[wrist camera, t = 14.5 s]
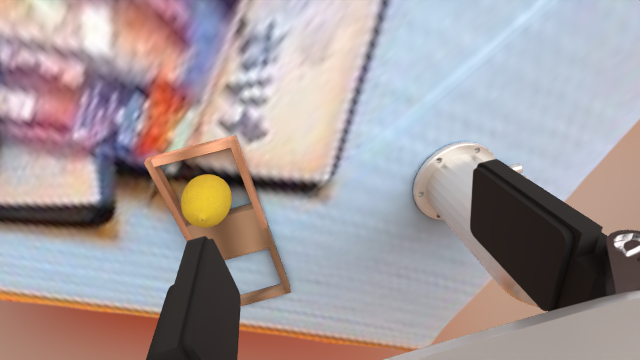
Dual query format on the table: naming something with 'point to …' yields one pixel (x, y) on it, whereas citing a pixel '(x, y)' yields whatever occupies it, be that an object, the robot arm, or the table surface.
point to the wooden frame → (239, 224)
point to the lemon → (206, 201)
